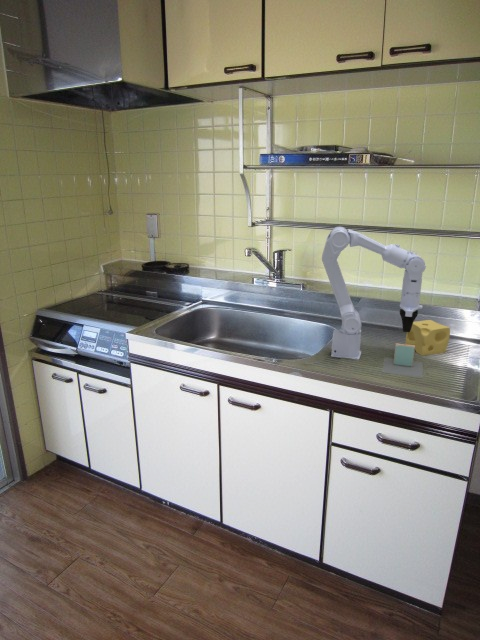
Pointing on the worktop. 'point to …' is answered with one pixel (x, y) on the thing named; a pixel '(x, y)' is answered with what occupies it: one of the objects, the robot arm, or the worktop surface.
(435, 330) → the cheese
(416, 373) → the mat
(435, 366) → the worktop surface
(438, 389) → the worktop surface
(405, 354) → the tile
